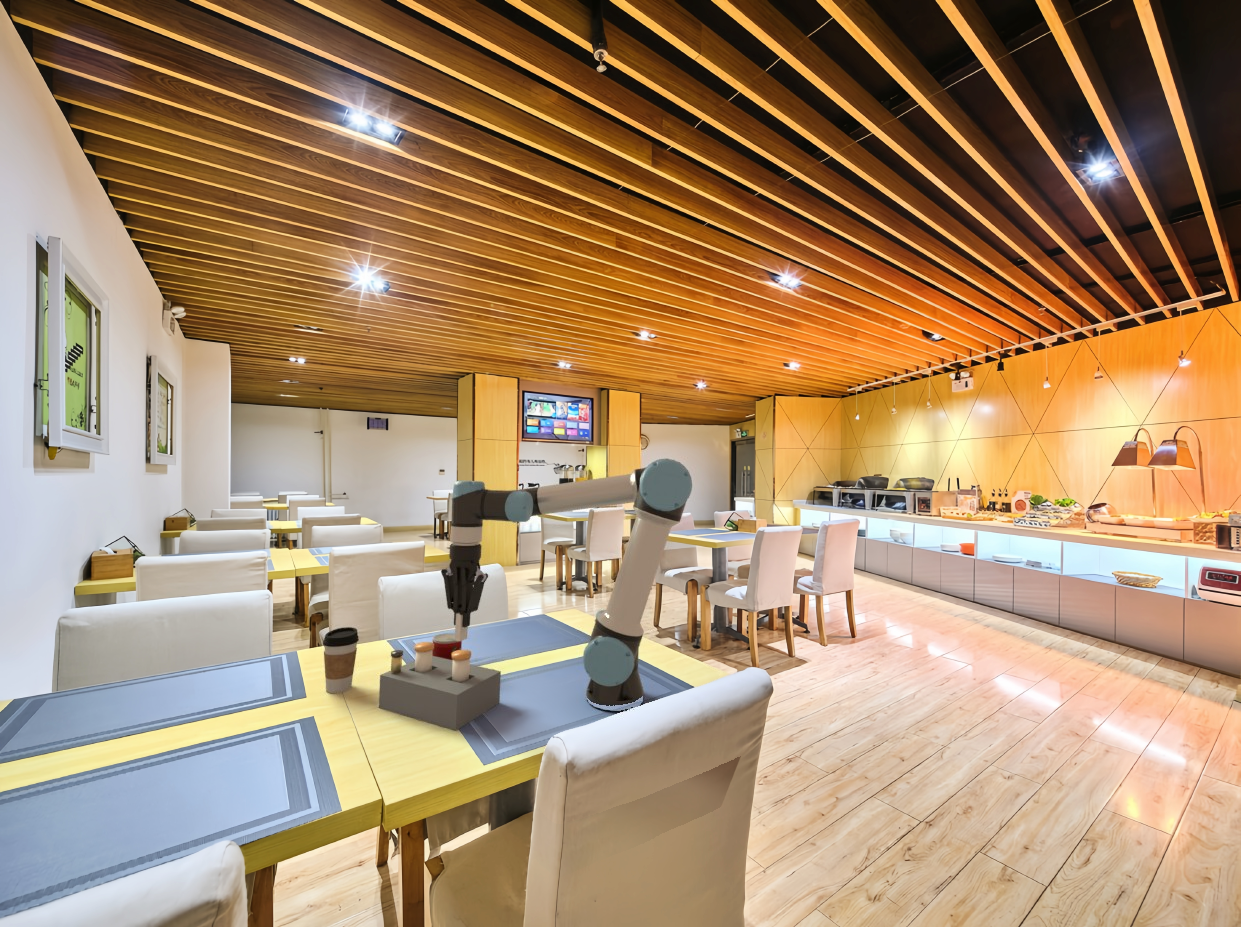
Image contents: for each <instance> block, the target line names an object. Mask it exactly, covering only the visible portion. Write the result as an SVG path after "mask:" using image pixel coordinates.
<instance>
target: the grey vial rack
mask: <svg viewBox="0 0 1241 927" xmlns="http://www.w3.org/2000/svg"><path fill="white" fill-rule="evenodd" d="M452 666H453V660H449V659H444V658H440V657H436V656H432V670H431V671H429V672H426V673H424V674H422V673H418V672H415V660H413V661H411V662H408V663H406V664H404V665H403V664H402V668H401V673H399V674H391V670H388V671H386V672H384V673H380V675H379V694H378V695H379V696H378V708H379V709H381V710H385V711H387V712H388V711H389V712H391V713H394V714H399V715H402V716H405V717H408V718H412V719H414V720H415V719H416V720H418V721H422V722H426V723H428V724H430V725H431V724H432V725H435V726H438V727H442V728H446V729H448V730H452V731H456V732H457V730H459V729H460V728H462V727H464V726H466V725H467V724H470V722H472V721H473V720H475V719H476V718H478V717H480V716H481V715H483V714H484V713H486V712H488V711H489V710H491V709H492V708H494V707H496V706H497V705H498V704H500V699H501V696H500V695H501V672H502V671H501V670H498V669H497V670H496V669H493V668H488V667H484V666H480V665H475V664H470V666H469V680H467V681H465V682H463V683H458V682H454V681H452Z"/></svg>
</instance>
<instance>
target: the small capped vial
mask: <svg viewBox="0 0 1241 927" xmlns="http://www.w3.org/2000/svg"><path fill="white" fill-rule="evenodd" d="M403 656H404V650H402V649H396V650H392V651H391V652H390V657H391V662H390V663H391V664H390V671H391V674H399V673H401V668H402V666H403V664H402V663H403V662H402V661H403Z"/></svg>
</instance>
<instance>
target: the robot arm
mask: <svg viewBox="0 0 1241 927" xmlns="http://www.w3.org/2000/svg"><path fill="white" fill-rule="evenodd" d="M485 486H486V485H485V482H484V481H478V480H457V481H455V482H454V483H453V491H452V497H451V522H450V536H449V541H450V543H451V544H450V545H449V552H448V553H449V554H448V557H449V559H450V562H449V566H448V567H447V568H443V569H441V571H440V572H441V575H442V578H443V582H444V589H445V590H444V591H445V599H446V606H447V609H448V610H452V611H453V613H454V614H453V625H454V626H455V627H454V628H455V629H454V630H455V632H454V633H455V641H464V640H466V639H468V628H469V627H470V624H471V614H472V613H474V612H476V611H478V610H479V607H480V602H481V597H482V593H483V591H484V586H485V583H486V581H487V579H488V578H489V574H488V573H487V572H483V571H482V570H481V564H480V560H481V559H482V544H481V542H482V540H483V526H484V523H483V520H484V521H497V522H498V521H500V522H512V523H527V522H528V521H529V520H530V519H531V517H537V516H542V515H548V514H556V513H564V512H571V511H579V510H587V509H596V508H602V507H603V508H604V507H608V506H617V505H624V504H632V503H633V505H632V507H633V508H632V509H633V510H634V513H635V515H636V517H635V519H634V523H633V527H632V529H631V532H630V536H629V539H628V542H627V544H626V548H625V550H624V551H625V552H624V554H623V557H622V560H621V563H620V567H619V570H618V573H617V575H616V579H615V582H614V584H613V588H612V591H611V594H610V597H609V600H608V602H607V607H606V608H605V609H602V610H598V611H597V613H596V614H595V619H594V622H595V623H594V625H593V628H592V632H591V636H590V638H589V641H588V644H587V645H586V646H585V648H584V650H583V655H582V657H583V659H582V661H583V668H584V670H585V672H586V674H587V676H588V677H589V678H590V679H589V681H588V684H587V688H586V696H587V698H588V699H589V700H590V701H591V702H593V703H596V704H599V705H606V706H609V705H610V706H613V705H614V706H615V705H623V704H628V703H632V702H635V701H636V700H638V699H639V698H641V697H642V696H643V695H645V691H644V687H643V684H642V681H641V676H640V673H639V651H640V648H639V647H640V645H641V642H642V639H643V636H644V633H645V632H644V631H645V630H644V629H643V626H642V625H641V622H642V618H643V615H644V613H645V608H646V606H647V603H648V600H649V597H650V594H651V591H652V588H653V584H654V581H655V579H656V575H657V573H658V569H659V566H660V563H661V560H662V556H663V553H664V550H665V547H666V544H667V541H668V539H669V536H670V532H671V529H672V528H673V527H674V526H676V525H678V524H680V523H681V521H682V520H681V519H682V516H683V514H684V511H685V508H686V504H687V502H688V499H689V498H690V496H691V494H692V490H693V480H692V476H691V474H690V471H689V470H688V468H687V467H686V466H685V465H684V464H682V463H681V462H680V461H677V460H675V459H670V458H659V459H656V460H654V461H652V462H651V463H649V464H648V465H647V466H646V467H643V468H642V467H641V468H636V469H633V470H632V472H631V473H629V474H628V473H627V474H620V475H614V476H608V477H607V476H605V477H599V478H592V479H586V480H579V481H572V482H564V483H557V484H551V485H544V486H539V487H536V486H535V487H529V488H521V489H510V490H505V489H504V490H502V489H501V490H500V489H498V490H497V489H496V490H495V489H488V488H487V489H486V487H485ZM631 708H633V707H631ZM625 710H628V709H625ZM621 711H623V712H625V711H624V710H621ZM621 711H618V713H621Z"/></svg>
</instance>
